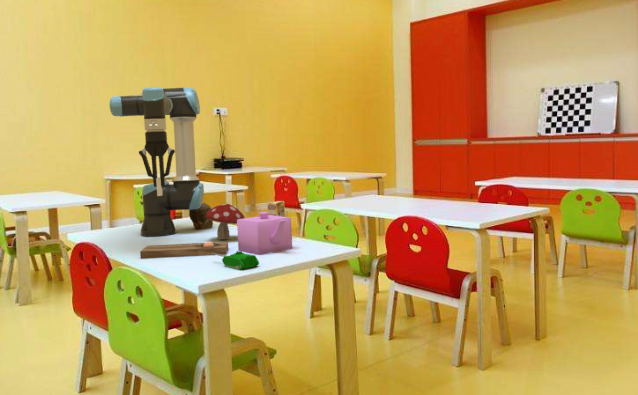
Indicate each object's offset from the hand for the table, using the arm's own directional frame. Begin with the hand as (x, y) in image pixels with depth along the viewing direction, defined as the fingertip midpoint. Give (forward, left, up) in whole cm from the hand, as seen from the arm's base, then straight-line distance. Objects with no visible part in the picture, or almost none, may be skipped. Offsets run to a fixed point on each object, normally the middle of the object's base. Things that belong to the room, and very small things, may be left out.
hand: (160, 195), depth 212 cm
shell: (-59, +8, -22) cm, 64 cm away
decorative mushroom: (-22, +22, -22) cm, 38 cm away
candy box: (-17, +43, -22) cm, 51 cm away
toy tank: (+28, +27, -22) cm, 45 cm away
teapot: (+5, +38, -22) cm, 44 cm away
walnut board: (+4, +9, -21) cm, 23 cm away
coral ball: (+4, +17, -19) cm, 26 cm away
